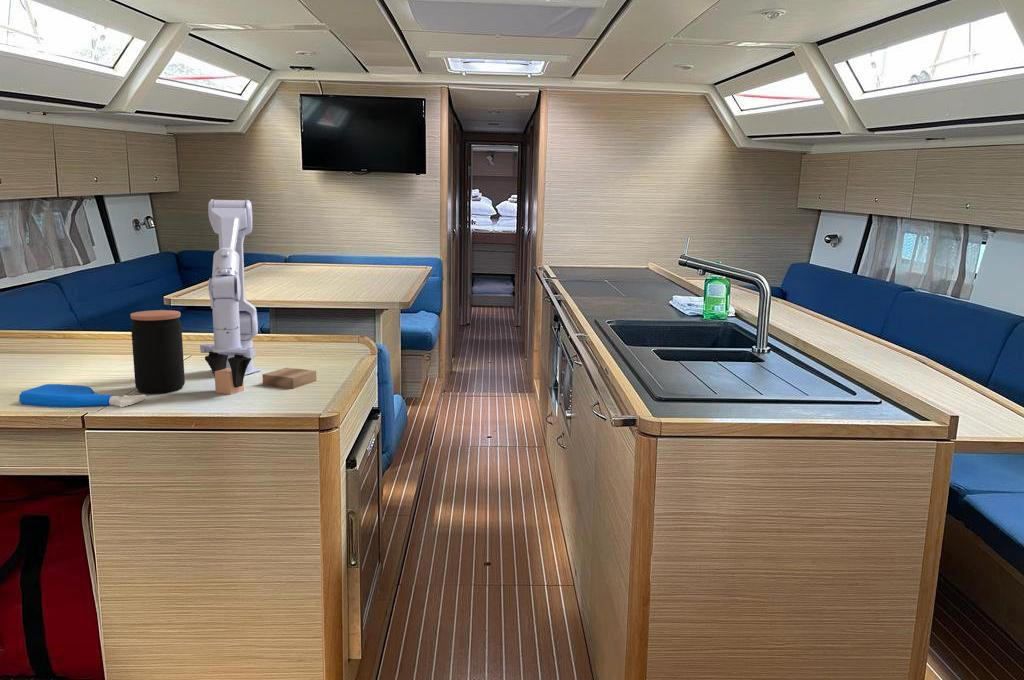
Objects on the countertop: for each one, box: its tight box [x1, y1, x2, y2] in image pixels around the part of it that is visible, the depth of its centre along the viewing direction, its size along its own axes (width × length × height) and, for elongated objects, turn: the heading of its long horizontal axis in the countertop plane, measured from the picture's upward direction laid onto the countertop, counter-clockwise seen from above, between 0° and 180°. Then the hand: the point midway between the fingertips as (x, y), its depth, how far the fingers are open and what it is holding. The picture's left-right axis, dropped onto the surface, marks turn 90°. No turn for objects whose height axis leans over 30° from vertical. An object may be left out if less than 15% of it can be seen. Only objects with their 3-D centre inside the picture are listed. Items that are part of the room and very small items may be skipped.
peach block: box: [214, 368, 245, 395], centre depth 179 cm, size 4×4×5 cm
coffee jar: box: [129, 309, 186, 395], centre depth 179 cm, size 11×11×18 cm
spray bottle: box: [18, 383, 147, 408], centre depth 169 cm, size 3×11×24 cm
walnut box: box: [262, 367, 317, 389], centre depth 189 cm, size 9×9×3 cm
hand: (229, 385), depth 179 cm, fingers closed on peach block, 4 cm apart
